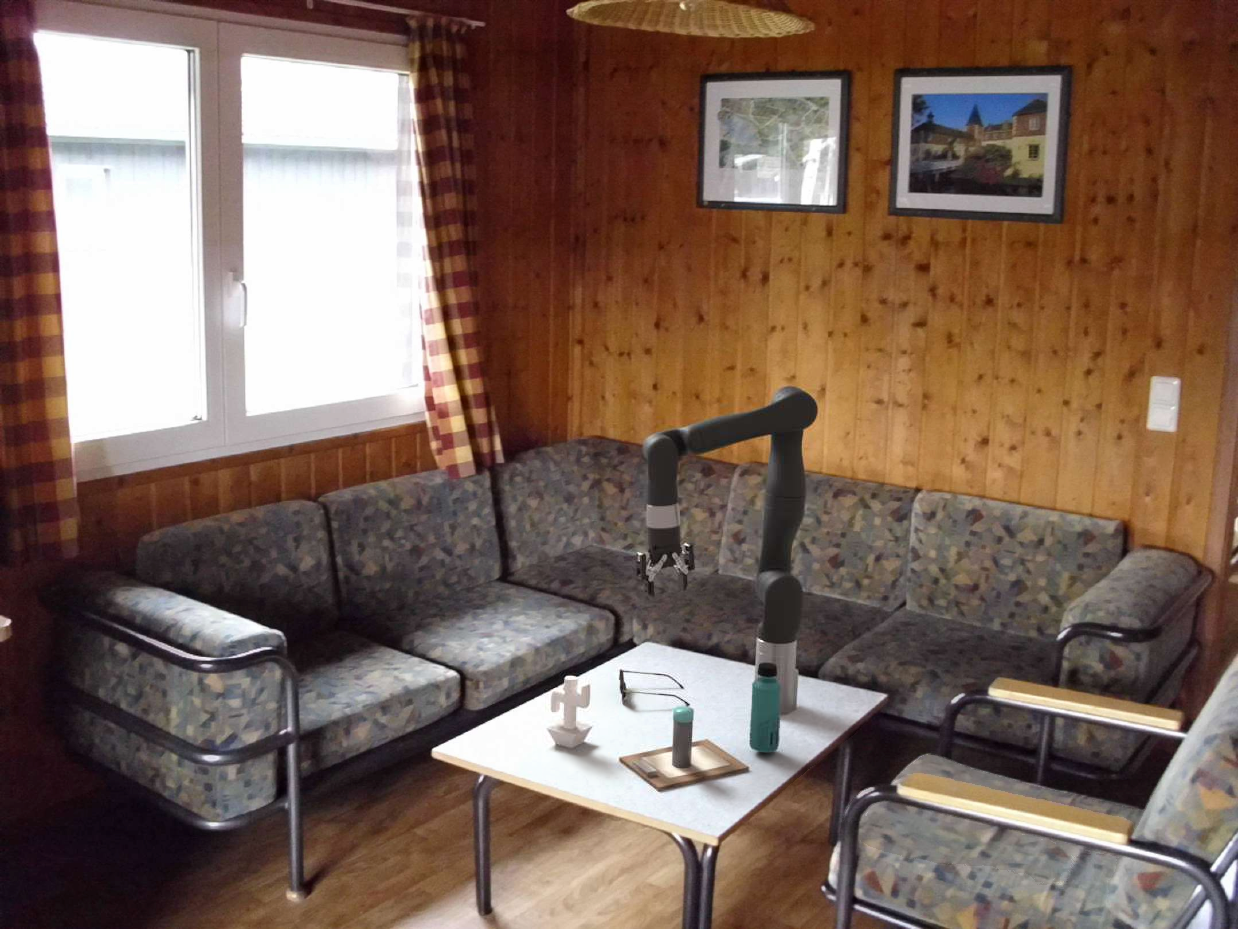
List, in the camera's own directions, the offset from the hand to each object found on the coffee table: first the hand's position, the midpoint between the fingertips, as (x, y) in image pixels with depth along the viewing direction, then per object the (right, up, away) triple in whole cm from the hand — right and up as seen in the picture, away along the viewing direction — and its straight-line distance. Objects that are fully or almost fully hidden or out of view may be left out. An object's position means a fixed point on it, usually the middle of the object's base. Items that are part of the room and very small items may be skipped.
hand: (666, 593), depth 304 cm
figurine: (-21, -31, -12) cm, 40 cm away
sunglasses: (-2, -27, +16) cm, 31 cm away
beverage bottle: (+20, -33, -15) cm, 41 cm away
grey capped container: (+2, -33, -24) cm, 41 cm away
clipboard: (+3, -34, -22) cm, 41 cm away
